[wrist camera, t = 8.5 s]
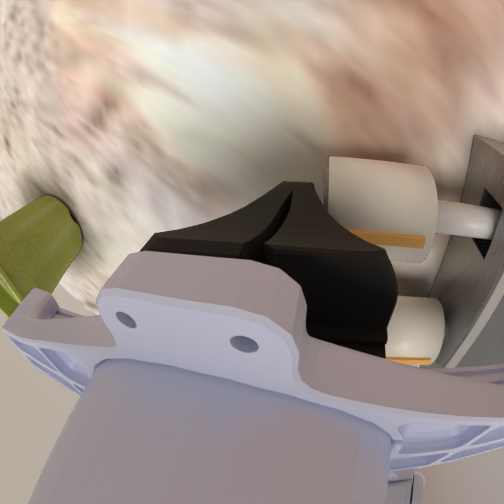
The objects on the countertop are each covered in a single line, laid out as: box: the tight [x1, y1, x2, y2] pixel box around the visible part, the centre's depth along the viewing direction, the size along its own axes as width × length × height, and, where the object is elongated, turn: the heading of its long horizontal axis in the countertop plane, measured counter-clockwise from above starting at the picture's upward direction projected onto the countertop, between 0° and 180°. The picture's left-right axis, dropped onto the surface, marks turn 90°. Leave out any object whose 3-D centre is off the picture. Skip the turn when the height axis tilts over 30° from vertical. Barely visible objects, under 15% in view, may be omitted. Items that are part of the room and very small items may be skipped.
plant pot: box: [0, 195, 82, 318], centre depth 18 cm, size 9×9×9 cm
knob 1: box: [324, 156, 502, 263], centre depth 10 cm, size 4×11×4 cm, turn 95°
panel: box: [420, 135, 504, 369], centre depth 11 cm, size 14×5×6 cm, turn 5°
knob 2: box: [385, 296, 448, 365], centre depth 14 cm, size 4×10×4 cm, turn 95°
